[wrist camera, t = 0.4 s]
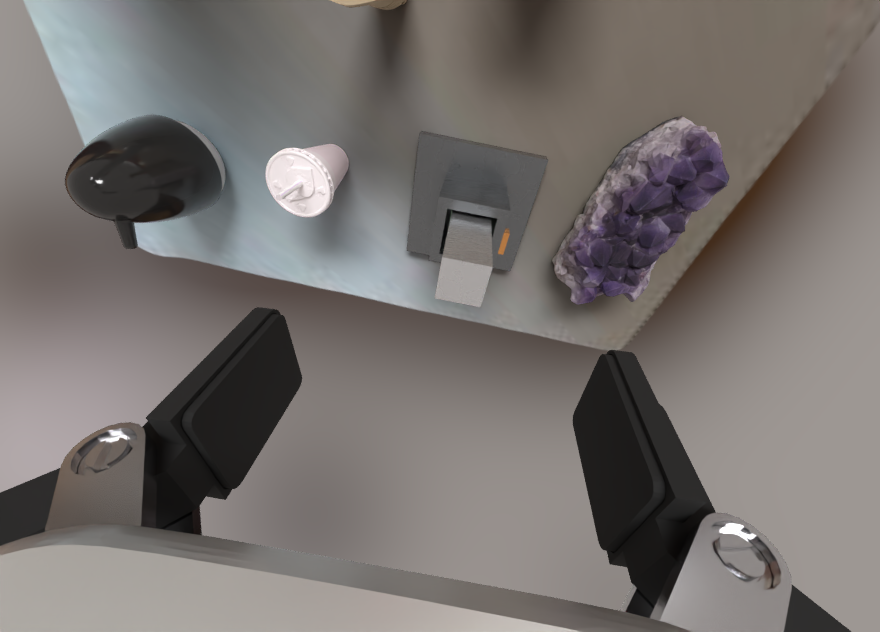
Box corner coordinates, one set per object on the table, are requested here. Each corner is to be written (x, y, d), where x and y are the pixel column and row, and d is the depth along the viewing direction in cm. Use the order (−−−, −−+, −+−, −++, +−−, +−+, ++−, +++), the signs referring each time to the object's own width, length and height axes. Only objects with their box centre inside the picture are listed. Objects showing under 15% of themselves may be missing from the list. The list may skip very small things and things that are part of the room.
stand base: (408, 245, 46) (394, 280, 38) (421, 131, 37) (406, 149, 30) (509, 265, 46) (513, 304, 39) (546, 156, 37) (560, 180, 30)
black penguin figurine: (185, 203, 45) (77, 256, 33) (136, 114, 39) (-18, 140, 27) (254, 199, 44) (167, 253, 32) (214, 105, 38) (88, 130, 26)
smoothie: (371, 164, 40) (327, 206, 29) (338, 199, 43) (287, 249, 32) (327, 116, 37) (260, 143, 26) (296, 157, 40) (224, 197, 29)
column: (448, 224, 41) (432, 299, 29) (455, 189, 39) (440, 255, 26) (483, 231, 41) (481, 309, 29) (492, 196, 39) (495, 265, 26)
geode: (617, 95, 33) (677, 107, 25) (714, 127, 35) (797, 148, 27) (533, 269, 45) (555, 315, 37) (608, 286, 47) (645, 333, 39)
